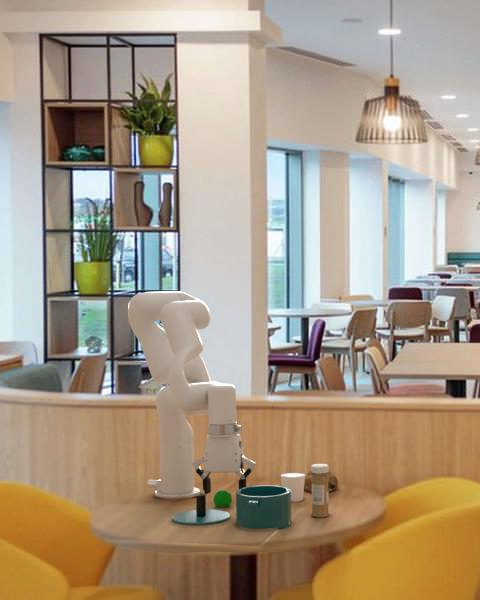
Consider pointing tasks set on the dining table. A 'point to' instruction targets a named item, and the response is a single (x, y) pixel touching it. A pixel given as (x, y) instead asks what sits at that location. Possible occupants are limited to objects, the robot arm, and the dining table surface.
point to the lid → (201, 514)
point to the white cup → (294, 485)
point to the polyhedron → (222, 498)
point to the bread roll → (331, 481)
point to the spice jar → (320, 490)
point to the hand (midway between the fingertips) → (224, 493)
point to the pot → (263, 507)
